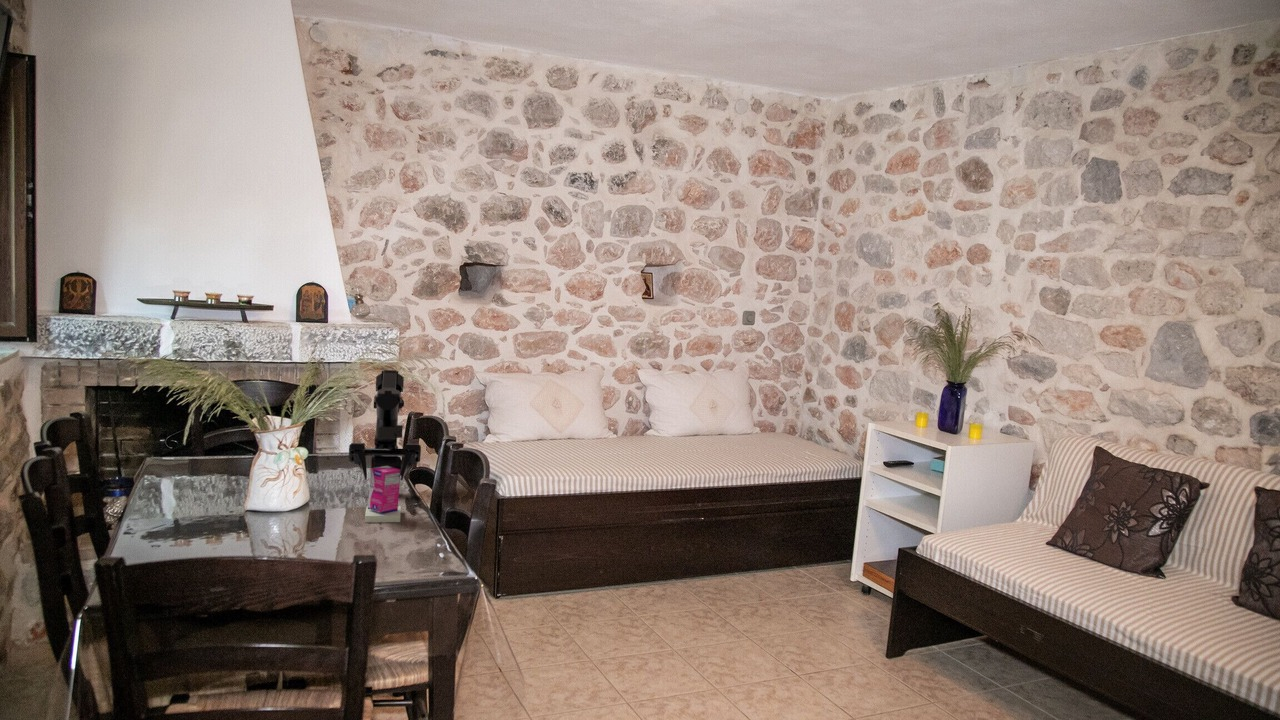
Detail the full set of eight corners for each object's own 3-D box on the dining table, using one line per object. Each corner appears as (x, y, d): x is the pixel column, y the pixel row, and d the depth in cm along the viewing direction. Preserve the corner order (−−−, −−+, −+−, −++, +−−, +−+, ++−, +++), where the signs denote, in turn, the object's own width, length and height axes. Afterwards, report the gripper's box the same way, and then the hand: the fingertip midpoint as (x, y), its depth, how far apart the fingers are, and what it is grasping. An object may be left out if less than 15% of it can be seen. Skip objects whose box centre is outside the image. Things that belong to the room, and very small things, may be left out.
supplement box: (366, 509, 223) (370, 467, 222) (384, 506, 228) (388, 465, 227) (380, 514, 220) (384, 471, 219) (398, 510, 225) (402, 469, 224)
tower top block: (366, 513, 227) (366, 506, 227) (400, 513, 230) (400, 506, 229) (364, 523, 219) (364, 515, 218) (400, 522, 221) (400, 515, 221)
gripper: (350, 413, 223) (346, 463, 213) (422, 415, 228) (421, 463, 218) (351, 436, 231) (347, 485, 221) (420, 437, 236) (419, 485, 226)
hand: (383, 479), depth 222 cm, fingers open, 9 cm apart
